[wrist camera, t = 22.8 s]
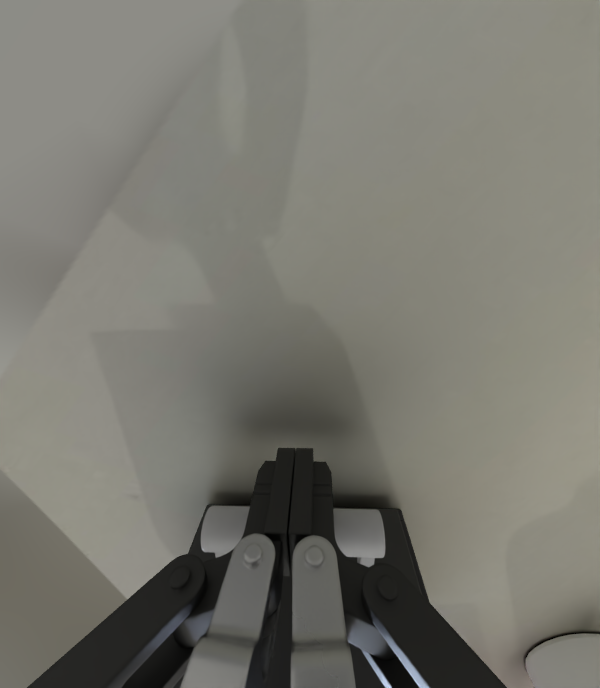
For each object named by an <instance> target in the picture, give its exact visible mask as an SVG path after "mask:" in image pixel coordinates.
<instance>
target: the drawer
mask: <svg viewBox="0 0 600 688" xmlns="http://www.w3.org/2000/svg"><path fill="white" fill-rule="evenodd" d="M249 509H250V506H246V505H208V507H207V510H206V512H205V515H204V518H203V520H202V523H201V525H200V528H199V531H198V533H197V536H196V538H195V541H194V544H193V546H192V549H191V551H190V554H193V555H196V556H198V557H199V558H200V559H201V560H202V561H203V562H205V561H208V560H211V559H214V558H217V557H220V556H223V555H225V554H227V553H228V552H230V551H231V550H233V549H234V548H235V546H236V545H237V544H238V542H239V541H240V540H241V538H242V536H243V534H244V530H245V526H246V522H247V517H248V513H249ZM333 514H334V532H335V539H336V543H337V545H338V547H339V548H340V550H341V551H342V552H343V554H344V555H346V556H347V557H348V558H349V559H351V560H353V561H355V562H357V563H360V564H362V565H364V566H367V567H370V566H372V565H374V564H377V563H387V564H390V565H392V566H394V567H396V568H397V569H398V570H400V571H401V572H402V573H403V574H404V575H405V577H406V578H407V579H408V580H409V581H410V582H411V583H412V584H413V585H414V586H415V587H416V589H417V590H418V591H419V592H420V593H421V590H420V586H419V583H418V579H417V576H416V572H415V569H414V566H413V562H412V559H411V555H410V552H409V548H408V545H407V541H406V538H405V535H404V531H403V528H402V524H401V521H400V517H399V514H398V511H397V509H374V508H333ZM421 594H422V593H421ZM348 643H349V642H348ZM291 646H292V571H290V576H283V584H282V594H281V603H280V611H279V617H278V624H277V630H276V636H275V643H274V649H273V656H272V662H271V669H270V675H269V682H268V688H291ZM349 646H350V651H351V656H352V663H353V671H354V678H355V686H356V688H385V686H384V685H383V683H382V682H381V680H380V679H379V677H378V676H377V674H376V672H375V671H374V669H373V668H372V666H371V665H370V663H369V662H368V660H367V659H366V657H365V656H364V654H363V652H362V650H361V649H360V648H358V647H356V646H354V645H353V644H351V643H349ZM184 675H185V674H184ZM184 675H183V676H182V677H181V679H180V680H179V681H178V682H177V683H176V685H175V686H174V687H173V688H180V687H181V684H182V681H183V678H184Z"/></svg>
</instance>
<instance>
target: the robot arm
mask: <svg viewBox="0 0 600 688" xmlns="http://www.w3.org/2000/svg"><path fill="white" fill-rule="evenodd" d="M290 571H292V646H291V688H356V686H355V678H354V671H353V663H352V656H351V651H350V646H349V643H351V644H353V645H354V646H356V647H358V648H360V649H361V650H362V652H363V654H364V656H365V657H366V659H367V660H368V662H369V663H370V665H371V666H372V668H373V669H374V671H375V672H376V674H377V676H378V677H379V679H380V680H381V682H382V683H383V685H384V686H385V688H507V687H506V686H505V685H504V684H503V683H502V682H501V681H500V680H499V679H498V677H497V676H496V675H495V674H494V673H493V672H492V671H491V670H490V669H489V668H488V666H487V665H486V664H485V663H484V662H483V661H482V660H481V659H480V658H479V657H478V655H477V654H476V653H475V652H474V651H473V650H472V649H471V648H470V647H469V646H468V645H467V643H466V642H465V641H464V640H463V639H462V638H461V637H460V636H459V635H458V634H457V632H456V631H455V630H454V629H453V628H452V627H451V626H450V625H449V624H448V623H447V621H446V620H445V619H444V618H443V617H442V616H441V615H440V614H439V613H438V612H437V611H436V609H435V608H434V607H433V606H432V605H431V604H430V603H429V602H428V601H427V600H426V598H425V597H424V596H423V595H422V594H421V593H420V592H419V591H418V590H417V589H416V587H415V586H414V585H413V584H412V583H411V582H410V581H409V580H408V579H407V578H406V577H405V575H404V574H403V573H402V572H401V571H400V570H398V569H397V568H396V567H394V566H392V565H390V564H387V563H377V564H374V565H372V566H370V567H367V566H364V565H362V564H360V563H357V562H355V561H353V560H351V559H349V558H348V557H347V556H346V555H344V554H343V552H342V551H341V550H340V548H339V547H338V545H337V543H336V539H335V532H334V514H333V496H332V477H331V471H330V469H329V467H328V465H327V463H326V462H314V460H313V448H296V449H295V448H278V451H277V457H276V461H265V462H264V464H263V465H262V466H261V468H260V469H259V471H258V474H257V479H256V484H255V487H254V491H253V496H252V500H251V504H250V509H249V513H248V517H247V522H246V526H245V530H244V534H243V536H242V538H241V540H240V541H239V542H238V544H237V545H236V546H235V548H234V549H233V550H231V551H230V552H228V553H227V554H225V555H223V556H220V557H217V558H214V559H211V560H208V561H205V562H203V561H202V560H201V559H200V558H199V557H198V556H196V555H193V554H186V555H182V556H179V557H177V558H176V559H174V560H173V561H171V562H170V563H169V564H168V565H167V566H165V567H164V568H163V569H162V570H161V571H160V572H159V573H157V574H156V575H155V576H154V577H153V578H152V579H151V580H149V581H148V582H147V583H146V584H145V585H144V586H143V587H141V588H140V589H139V590H138V591H137V592H136V593H135V594H133V595H132V596H131V597H130V598H129V599H128V600H127V601H125V602H124V603H123V604H122V605H121V606H120V607H119V608H117V610H115V611H114V612H113V613H112V614H111V615H109V616H108V617H107V618H106V619H105V620H104V621H103V622H101V623H100V624H99V625H98V626H97V627H96V628H95V629H94V630H92V631H91V632H90V633H89V634H88V635H87V636H85V638H83V639H82V640H81V641H80V642H79V643H77V644H76V645H75V646H74V647H73V648H72V649H71V650H70V651H68V652H67V653H66V654H65V655H64V656H63V657H61V658H60V659H59V660H58V661H57V662H56V663H55V664H54V665H52V666H51V667H50V668H49V669H48V670H47V671H46V672H44V673H43V674H42V675H41V676H40V677H39V678H37V679H36V680H35V681H34V682H33V683H32V684H31V685H30V686H28V687H27V688H173V687H174V686H175V685H176V683H177V682H178V681H179V680H180V679H181V677H182V676H183V675H184V674H185V675H184V678H183V681H182V684H181V687H180V688H268V682H269V675H270V669H271V662H272V656H273V649H274V643H275V636H276V630H277V624H278V617H279V611H280V603H281V594H282V584H283V576H290ZM348 642H349V643H348Z"/></svg>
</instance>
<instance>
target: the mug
mask: <svg viewBox="0 0 600 688" xmlns="http://www.w3.org/2000/svg"><path fill="white" fill-rule="evenodd" d="M526 670H527V672H528V674H529V677H530V679H531V681H532V683H533V685H534V687H535V688H600V634H586V633H582V634H571V635H566V636H561V637H557V638H554V639H551V640H548V641H546V642H544V643H542V644H540V645H539V646H537V647H535V648H534V649H533V650H532V651H531V652H530V653H529V654H528V656H527V658H526Z"/></svg>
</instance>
